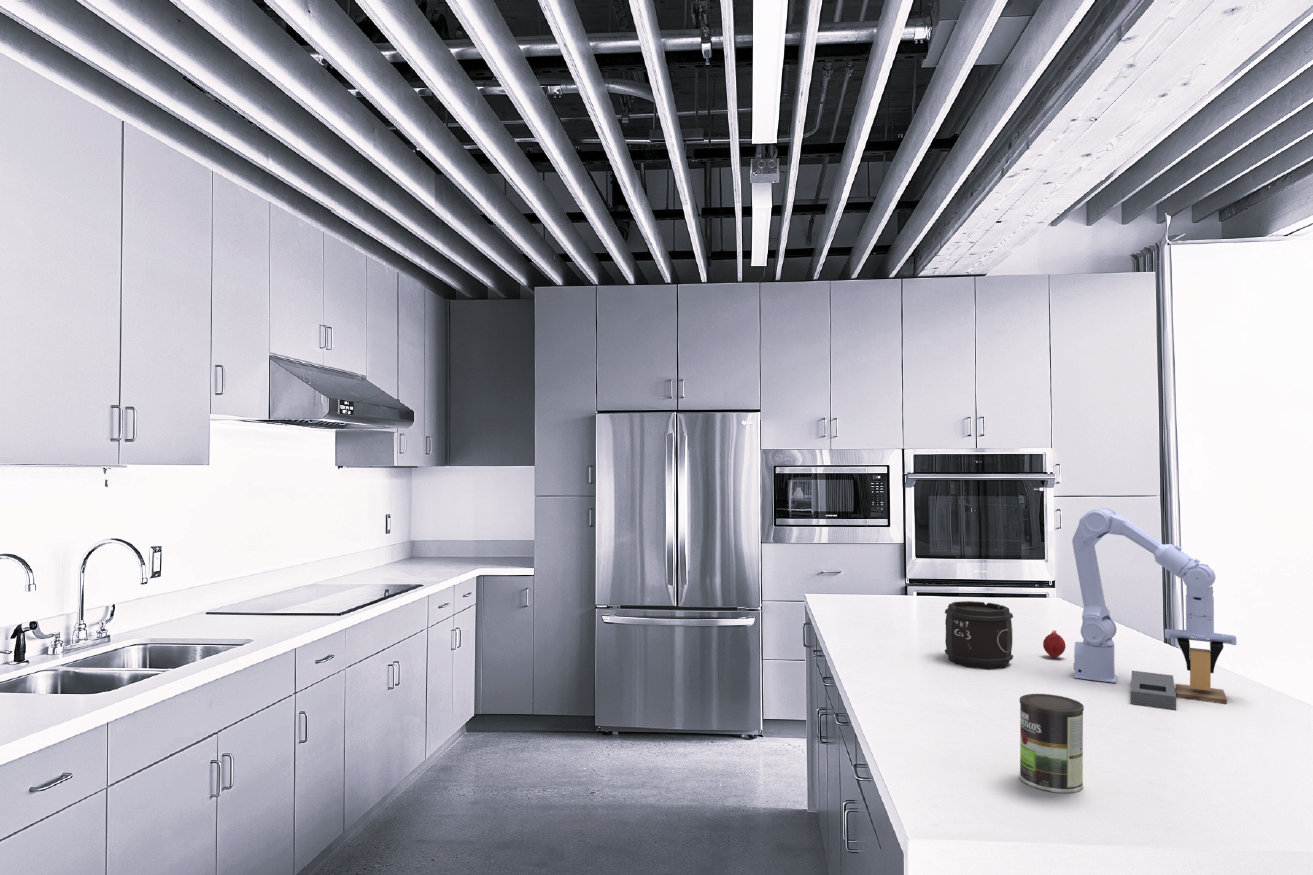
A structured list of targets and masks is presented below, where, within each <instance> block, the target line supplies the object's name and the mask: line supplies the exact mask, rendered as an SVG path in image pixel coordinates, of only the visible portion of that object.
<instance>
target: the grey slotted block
mask: <svg viewBox="0 0 1313 875" xmlns="http://www.w3.org/2000/svg"><path fill="white" fill-rule="evenodd" d="M1130 679H1131V680H1130V705H1137V706H1143V707H1151V708H1159V709H1165V710H1174V711H1176V710H1177V696H1176V689H1175V680H1174V675H1172V674H1164V673H1154V672H1146V671H1138V670H1131V678H1130Z"/></svg>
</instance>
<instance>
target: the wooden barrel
mask: <svg viewBox="0 0 1313 875" xmlns="http://www.w3.org/2000/svg"><path fill="white" fill-rule="evenodd" d="M944 614H945V648H946V649H945V650H944V652H945V655H946V656H947V659H948V661H950V662H952V664H954V665H957V666H961V667H966V668H972V669H982V670H994V669H995V670H997V669H1005V668H1006V667H1007V666H1009V664H1010V661H1012V660H1013V658H1014V655H1013V654H1012V650H1013V623H1012V619H1013V618H1014V614H1013V613H1012V612H1010V608H1009V607H1008V606H1005V605H1003V604H999V603H995V602H994V603H993V602H987V603H985V602H984V601H973V600H969V601H968V600H966V601H965V600H964V601H954V602H953V601H952V602H951V603H949V604H948V606H947V608H946V609H945V610H944Z"/></svg>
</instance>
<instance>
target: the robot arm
mask: <svg viewBox="0 0 1313 875" xmlns="http://www.w3.org/2000/svg"><path fill="white" fill-rule="evenodd" d="M1107 534H1109V535H1115V536H1124V537H1125V538H1127V539H1129V540H1130V541H1132V542H1134V543H1135V544H1137V545H1138V546H1140V547H1141V548H1143V549H1145V550H1146V551H1147V552H1150V553H1151V554H1153V556H1154V560H1155V562H1156V563H1157V564H1158V565H1159V566H1161V567H1163V568H1164V569H1166V570H1167V571H1168V572H1170V573H1171V574H1173V575H1174V576H1176V577H1177V578H1179V579H1182V582H1183V584H1184V585H1185V586H1186V588H1185V589H1186V593H1185V629H1170V628H1169V629H1168V628H1165V629H1164V638H1165V639H1175V640H1177V643H1178V646H1179V648H1180V650H1181V653H1182V654H1183V658H1184V659H1185V665H1186V671H1189V672H1190V671H1191V665H1190V648H1191V644H1190V641H1196V642H1197V641H1198V642H1206V643H1207V642H1208V643H1209V650H1210V672H1211V674H1215V672H1214V671H1215V667H1216V663H1217V661H1218V658H1219V656H1220V655H1221V653H1222V651H1223V650H1224V644H1227V645H1232V646H1237V636H1236V635H1233V634H1232V635H1231V634H1225V633H1217V632H1215V619H1214V618H1215V617H1214V616H1215V612H1214V611H1215V609H1214V608H1215V607H1214V605H1215V597H1214V587H1213V585H1214V583H1215V581H1216V574H1215V572H1214V570H1213V569H1212V568H1211V567H1210V566H1209V564H1205V563H1200V562H1201V560H1200V559H1198V558H1195V559H1194V558H1193V557H1192V556H1190V555H1188V554H1187V553H1185V552H1184V551H1183V550H1182V547H1181V546H1180V545H1177V544H1176V545H1173V544H1172V543H1166V544H1163V543H1162V542H1159V540H1157V539H1156V538H1154V537H1153V536H1152V535H1150V534H1149V533H1147V532H1146V531H1145V530H1143V529H1142V528H1140V527H1139V526H1138V525H1136V524H1135V523H1133V521H1131V520H1129V519H1128V518H1126V517H1125V516H1123V515H1122V514H1120V513H1116V512H1115V511H1114V510H1112V508H1111V509H1110V508H1107V507H1106V508H1104V507H1103V508H1100V509H1091V510H1089V511H1087V512H1086V513H1085V514H1083V516H1081V517H1080V519H1079V522H1078V525H1077V528H1076V529H1075V531H1074V534H1073V537H1072V539H1071V540H1072V541H1071V544H1072V547H1073V548H1072V549H1073V554H1074V559H1075V565H1076V570H1077V575H1078V582H1079V588H1080V594H1081V599H1082V603H1083V610H1082V614H1081V620H1082V624H1081V626H1080V635H1081V637H1082V638H1083V640H1082V641H1075V642H1074V655H1073V656H1074V662H1073V670H1074V676H1073V677H1074V679H1081V680H1089V681H1096V682H1097V681H1098V682H1104V683H1105V682H1106V683H1112V684H1116V683H1117V674H1115V642H1114V641H1113V638H1114V637H1115V635H1116V634H1117V625H1116V623H1115V622H1114V620H1113V619H1112V617H1111V613H1110V610H1109V609H1108V607H1107V606H1106V602H1105V595H1104V590H1103V584H1102V579H1101V573H1100V568H1099V563H1098V557H1097V553H1096V545H1097V544H1098V543H1099V541H1101V539H1102V538H1103V537H1104V536H1106V535H1107Z"/></svg>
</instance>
